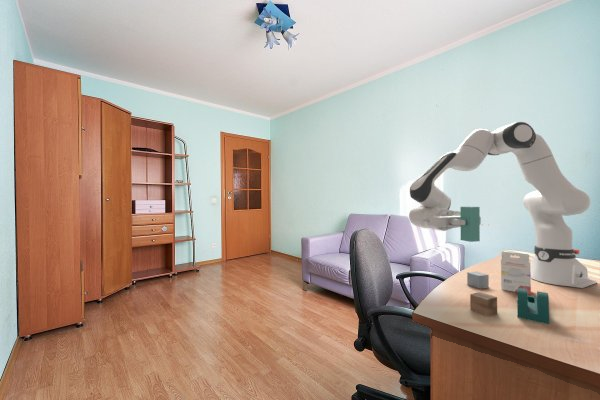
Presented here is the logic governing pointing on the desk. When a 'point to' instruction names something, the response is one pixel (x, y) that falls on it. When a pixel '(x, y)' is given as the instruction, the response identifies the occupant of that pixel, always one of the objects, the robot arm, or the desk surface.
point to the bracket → (533, 306)
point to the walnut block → (483, 303)
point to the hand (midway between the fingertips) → (472, 222)
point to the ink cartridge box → (515, 272)
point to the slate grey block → (478, 279)
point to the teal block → (470, 224)
